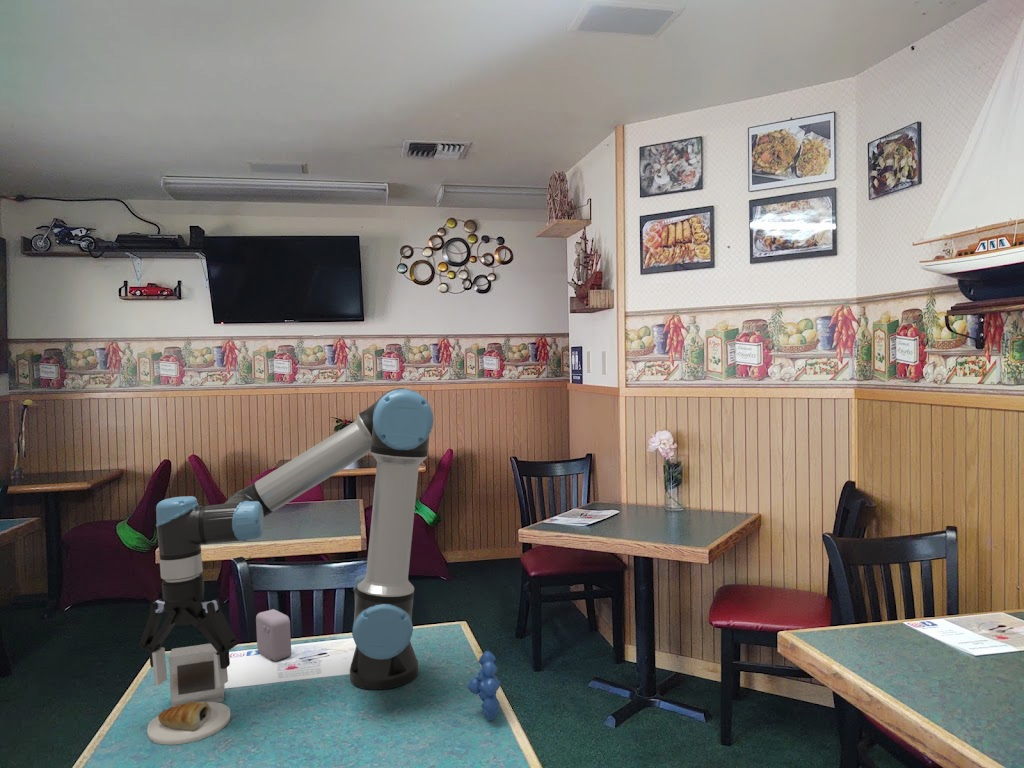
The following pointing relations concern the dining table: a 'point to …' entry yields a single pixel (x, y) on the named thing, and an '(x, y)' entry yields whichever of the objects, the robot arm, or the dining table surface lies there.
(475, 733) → the dining table surface
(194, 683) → the picture frame
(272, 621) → the electronic device
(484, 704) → the grapes
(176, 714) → the pastry
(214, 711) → the plate
